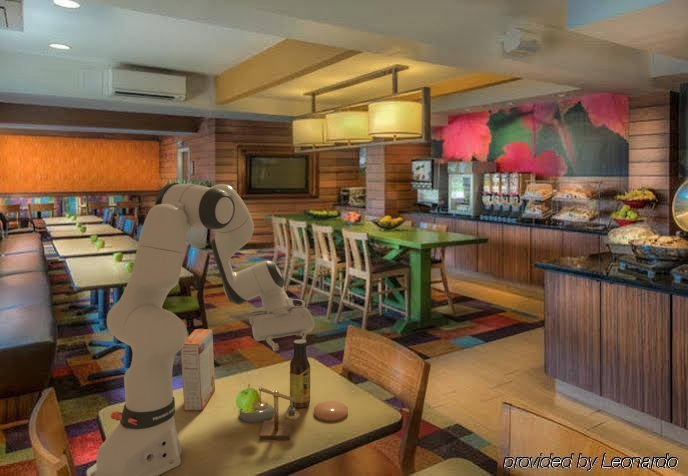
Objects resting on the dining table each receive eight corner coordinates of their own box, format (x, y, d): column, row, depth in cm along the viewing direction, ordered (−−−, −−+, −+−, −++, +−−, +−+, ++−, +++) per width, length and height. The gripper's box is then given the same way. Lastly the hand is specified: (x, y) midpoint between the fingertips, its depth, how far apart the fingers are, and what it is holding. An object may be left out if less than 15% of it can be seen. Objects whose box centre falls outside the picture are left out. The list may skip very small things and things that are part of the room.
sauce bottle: (307, 410, 157) (306, 346, 154) (287, 408, 158) (286, 344, 155) (312, 400, 163) (312, 338, 160) (293, 398, 164) (292, 337, 162)
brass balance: (251, 439, 140) (250, 394, 138) (256, 424, 148) (255, 381, 146) (298, 439, 140) (297, 394, 138) (300, 424, 148) (300, 381, 146)
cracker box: (197, 390, 170) (194, 328, 167) (215, 391, 169) (213, 328, 166) (182, 411, 156) (179, 343, 153) (202, 411, 156) (199, 343, 153)
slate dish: (259, 426, 147) (259, 422, 147) (232, 417, 152) (232, 413, 152) (281, 411, 156) (281, 407, 156) (254, 403, 161) (254, 400, 160)
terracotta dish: (336, 424, 148) (336, 420, 148) (307, 415, 153) (307, 411, 153) (353, 410, 157) (353, 406, 157) (325, 402, 162) (325, 398, 162)
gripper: (249, 308, 164) (261, 348, 157) (308, 300, 174) (322, 337, 167) (244, 318, 168) (256, 357, 161) (302, 310, 178) (316, 346, 171)
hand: (290, 347), depth 164 cm, fingers open, 8 cm apart
